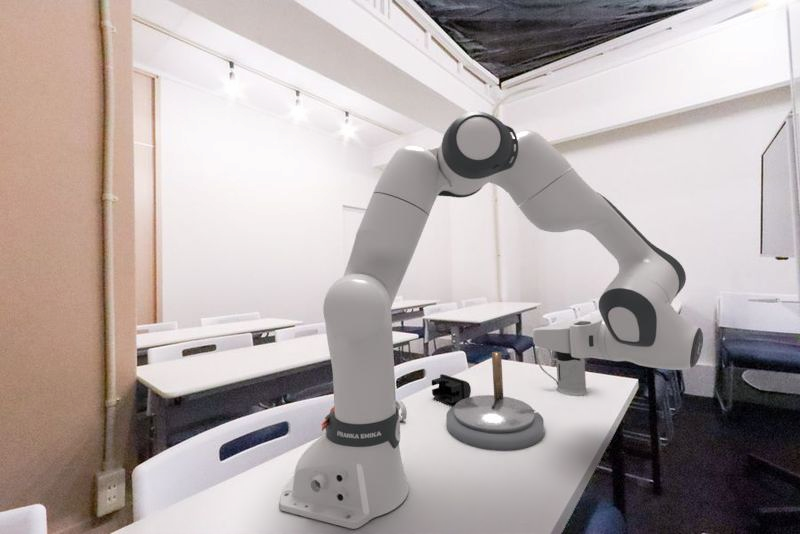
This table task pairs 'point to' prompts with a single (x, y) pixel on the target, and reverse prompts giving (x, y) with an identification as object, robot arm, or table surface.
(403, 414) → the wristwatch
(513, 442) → the base
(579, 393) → the glass holder
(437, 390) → the end cap
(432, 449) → the table surface
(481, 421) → the dial
